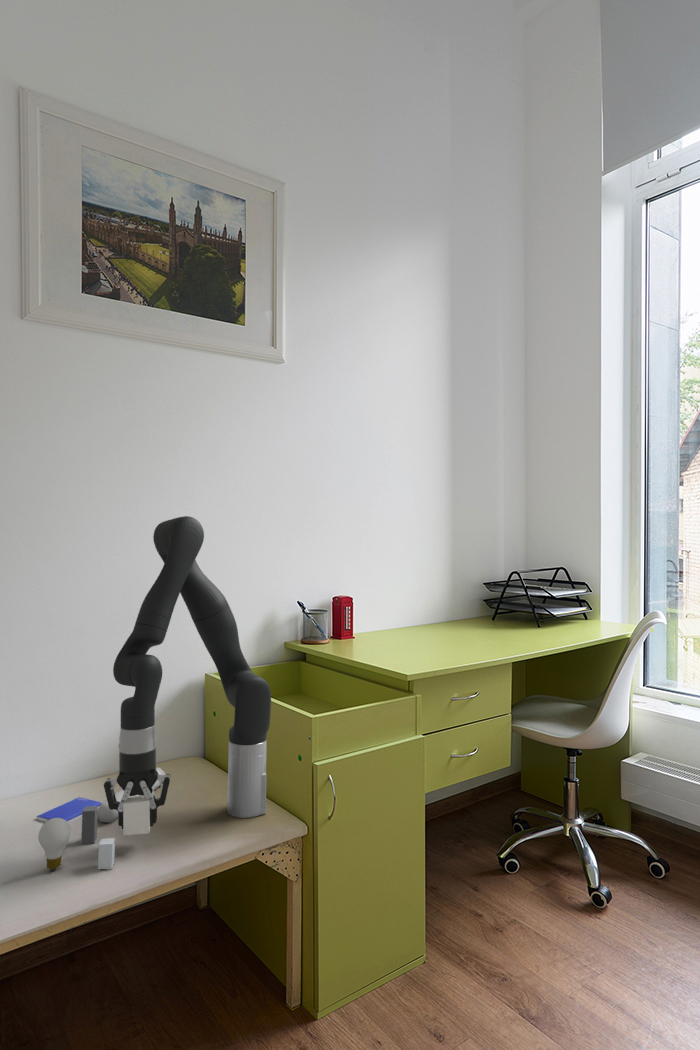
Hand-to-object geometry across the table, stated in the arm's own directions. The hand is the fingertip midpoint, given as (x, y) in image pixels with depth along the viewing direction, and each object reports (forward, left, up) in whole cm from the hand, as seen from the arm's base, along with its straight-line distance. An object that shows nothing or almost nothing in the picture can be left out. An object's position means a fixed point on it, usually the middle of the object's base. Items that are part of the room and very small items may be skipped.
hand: (137, 825), depth 139 cm
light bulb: (+15, +8, -5) cm, 17 cm away
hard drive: (+19, -20, -5) cm, 28 cm away
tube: (+5, -24, -5) cm, 25 cm away
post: (+11, -4, -5) cm, 13 cm away
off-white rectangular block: (0, 0, -1) cm, 1 cm away
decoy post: (+5, +8, -5) cm, 10 cm away
